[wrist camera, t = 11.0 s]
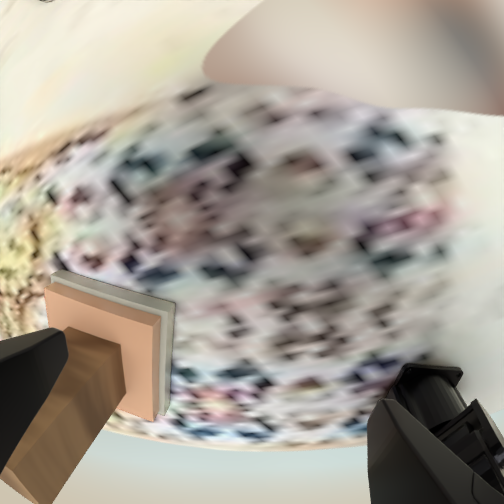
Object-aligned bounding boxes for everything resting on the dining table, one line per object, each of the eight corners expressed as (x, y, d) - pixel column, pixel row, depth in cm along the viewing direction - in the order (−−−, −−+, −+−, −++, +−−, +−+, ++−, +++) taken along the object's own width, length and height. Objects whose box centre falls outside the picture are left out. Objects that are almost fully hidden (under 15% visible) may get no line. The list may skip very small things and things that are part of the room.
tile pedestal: (175, 303, 22) (160, 322, 19) (169, 405, 25) (158, 427, 22) (61, 268, 22) (39, 280, 20) (72, 367, 26) (57, 383, 23)
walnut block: (120, 344, 20) (12, 471, 8) (126, 392, 21) (46, 511, 9) (68, 326, 20) (-43, 423, 8) (77, 374, 22) (-9, 471, 9)
